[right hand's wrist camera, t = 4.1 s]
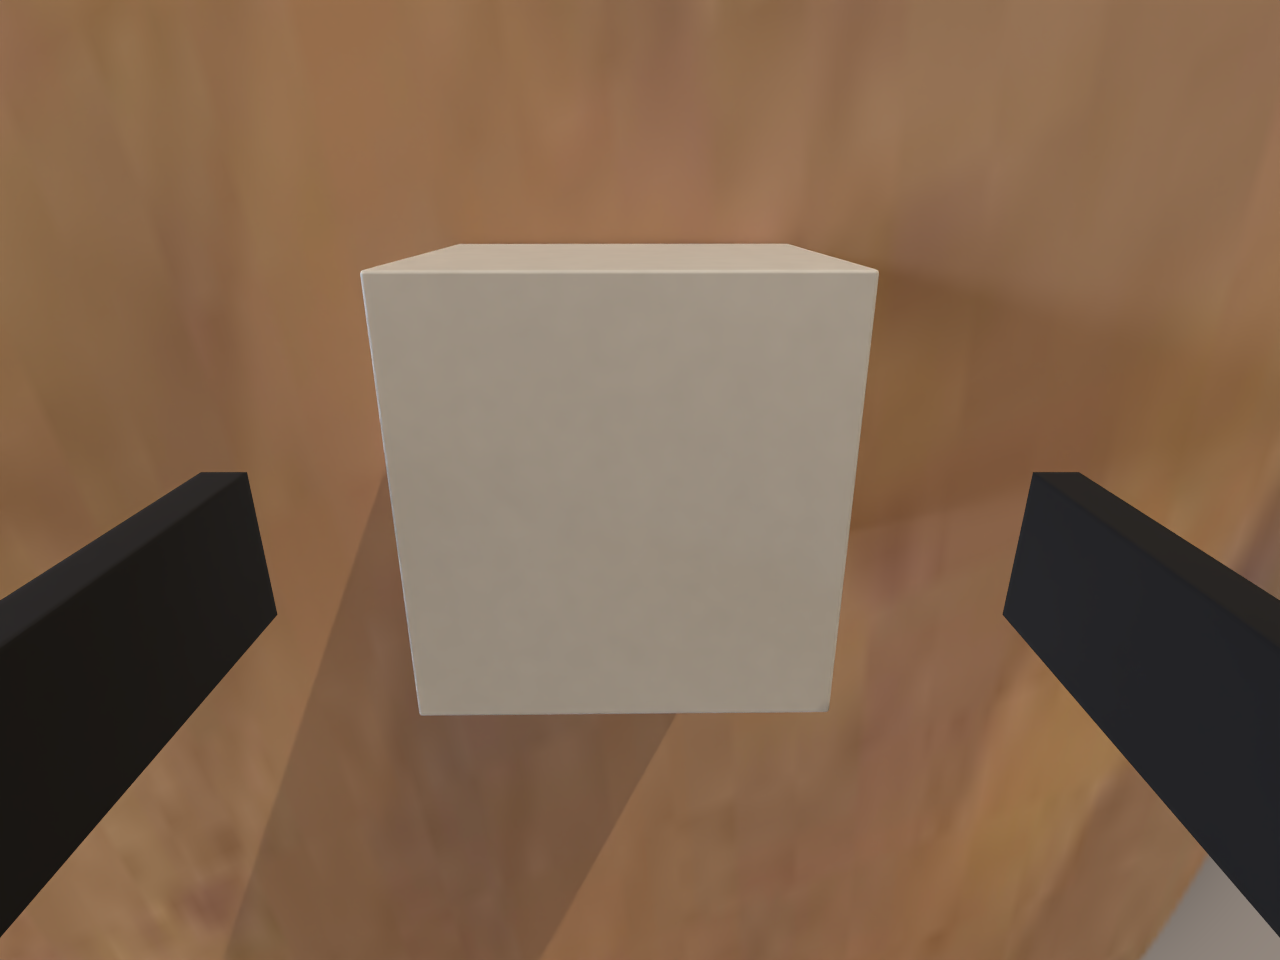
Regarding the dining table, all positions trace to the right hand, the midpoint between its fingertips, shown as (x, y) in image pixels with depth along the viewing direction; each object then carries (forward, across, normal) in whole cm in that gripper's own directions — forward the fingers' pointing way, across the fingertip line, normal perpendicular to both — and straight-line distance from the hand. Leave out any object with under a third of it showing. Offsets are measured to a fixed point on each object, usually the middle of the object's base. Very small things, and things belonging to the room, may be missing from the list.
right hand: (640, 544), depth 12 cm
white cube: (+9, 0, 0) cm, 9 cm away
